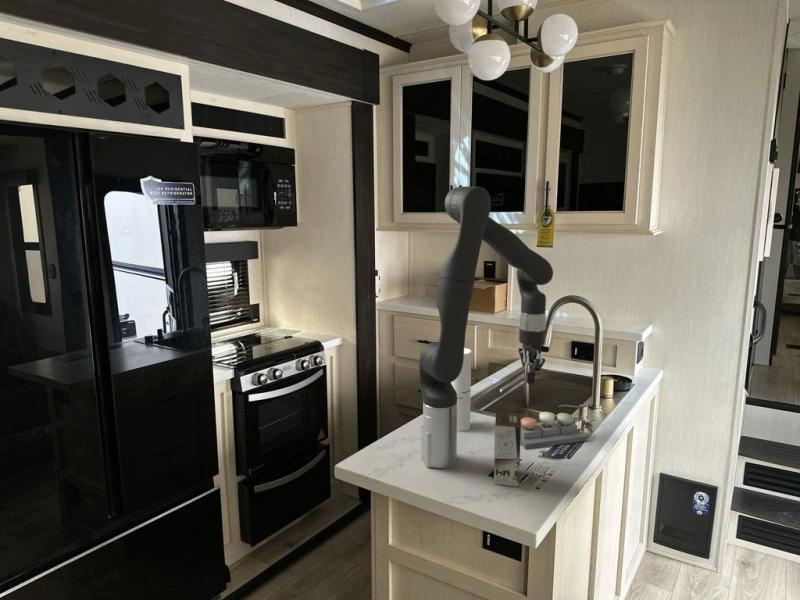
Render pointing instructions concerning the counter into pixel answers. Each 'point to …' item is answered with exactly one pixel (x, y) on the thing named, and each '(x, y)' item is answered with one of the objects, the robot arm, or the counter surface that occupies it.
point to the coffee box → (507, 449)
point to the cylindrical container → (463, 392)
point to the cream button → (546, 418)
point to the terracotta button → (528, 423)
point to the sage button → (564, 418)
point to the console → (550, 435)
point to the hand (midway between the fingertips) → (530, 383)
